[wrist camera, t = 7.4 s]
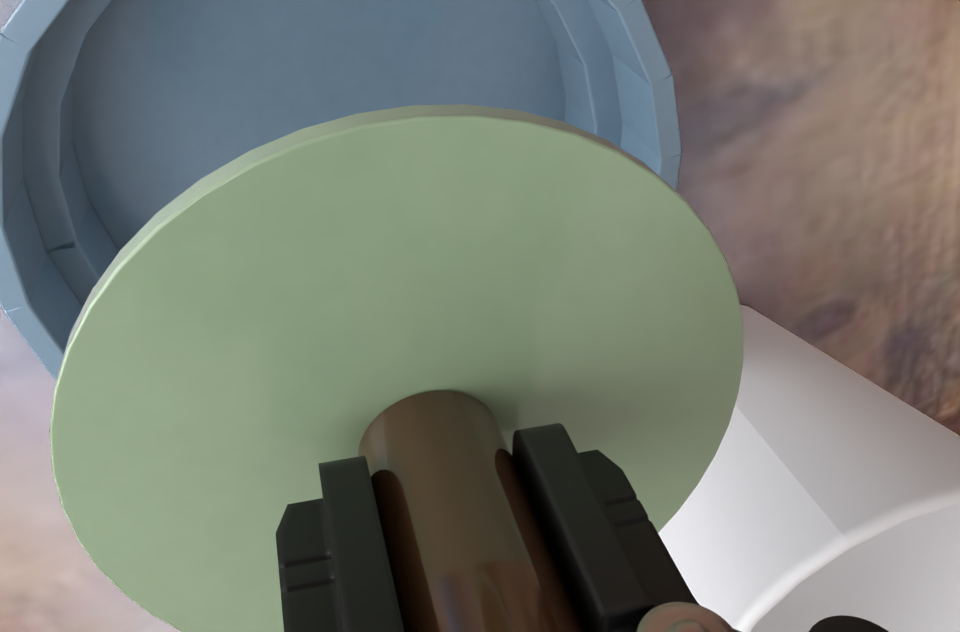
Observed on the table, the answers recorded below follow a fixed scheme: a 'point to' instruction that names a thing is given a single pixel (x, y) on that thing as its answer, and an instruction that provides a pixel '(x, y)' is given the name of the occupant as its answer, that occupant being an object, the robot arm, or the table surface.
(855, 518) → the cup
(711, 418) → the lid
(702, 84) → the table surface
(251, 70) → the bowl
